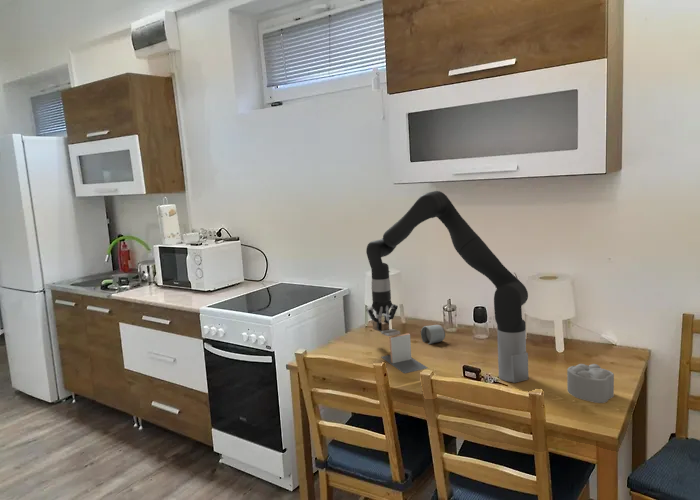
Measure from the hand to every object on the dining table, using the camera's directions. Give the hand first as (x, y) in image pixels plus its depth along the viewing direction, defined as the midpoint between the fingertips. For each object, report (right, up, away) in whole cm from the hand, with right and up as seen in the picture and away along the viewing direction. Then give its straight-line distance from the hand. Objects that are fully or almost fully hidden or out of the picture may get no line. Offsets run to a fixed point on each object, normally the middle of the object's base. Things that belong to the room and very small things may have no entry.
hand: (383, 330), depth 216 cm
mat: (+7, -11, -14) cm, 19 cm away
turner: (0, 0, 0) cm, 1 cm away
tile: (+6, -10, -12) cm, 17 cm away
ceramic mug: (+21, -7, +9) cm, 24 cm away
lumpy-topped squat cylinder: (+61, -13, -50) cm, 80 cm away
